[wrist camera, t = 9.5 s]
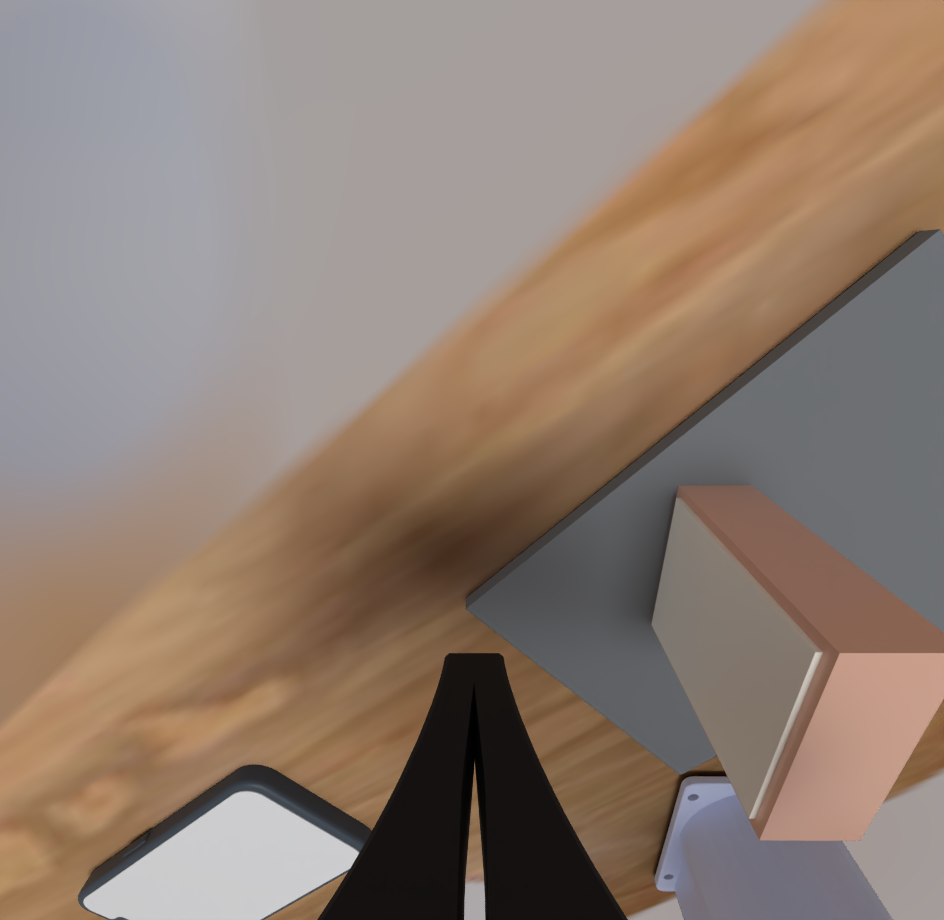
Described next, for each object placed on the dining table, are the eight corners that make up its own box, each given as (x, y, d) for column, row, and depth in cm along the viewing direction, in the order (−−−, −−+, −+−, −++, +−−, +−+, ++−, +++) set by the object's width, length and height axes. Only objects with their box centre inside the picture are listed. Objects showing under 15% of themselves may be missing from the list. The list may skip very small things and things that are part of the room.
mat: (919, 231, 12) (940, 229, 12) (1087, 534, 16) (1109, 544, 15) (465, 598, 17) (465, 608, 17) (674, 761, 21) (680, 775, 20)
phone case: (258, 742, 22) (87, 867, 26) (243, 776, 20) (63, 903, 24) (387, 822, 24) (213, 925, 28) (382, 857, 23) (199, 961, 27)
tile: (713, 624, 17) (860, 840, 10) (647, 624, 17) (752, 840, 10) (751, 485, 15) (970, 653, 8) (674, 485, 15) (831, 653, 8)
